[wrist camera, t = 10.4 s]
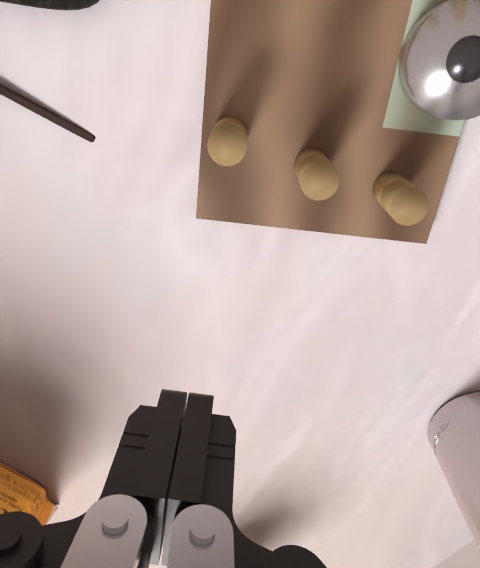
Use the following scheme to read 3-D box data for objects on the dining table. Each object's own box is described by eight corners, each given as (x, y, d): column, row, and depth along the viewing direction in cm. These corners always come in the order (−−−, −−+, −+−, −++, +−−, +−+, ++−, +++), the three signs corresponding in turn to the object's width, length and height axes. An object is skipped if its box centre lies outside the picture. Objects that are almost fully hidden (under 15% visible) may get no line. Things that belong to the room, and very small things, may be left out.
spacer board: (538, -153, 26) (619, -212, 21) (419, 236, 37) (451, 270, 31) (226, -196, 26) (219, -268, 20) (198, 212, 37) (188, 242, 31)
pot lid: (524, 1, 29) (547, -4, 26) (488, 120, 32) (506, 125, 29) (412, -8, 28) (426, -14, 26) (387, 111, 32) (398, 116, 29)
